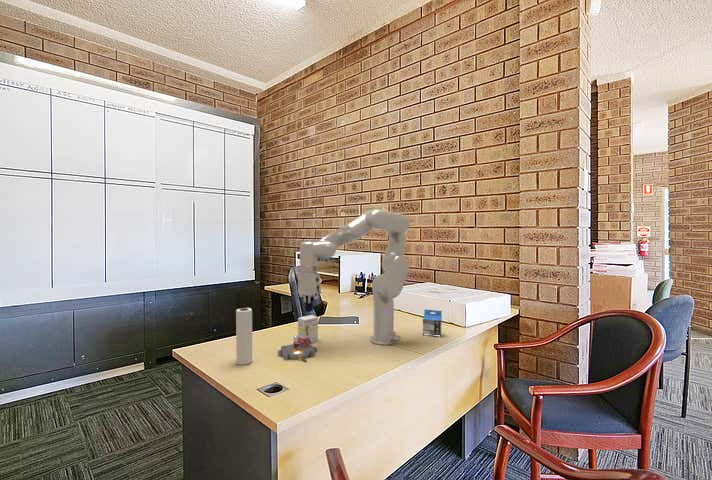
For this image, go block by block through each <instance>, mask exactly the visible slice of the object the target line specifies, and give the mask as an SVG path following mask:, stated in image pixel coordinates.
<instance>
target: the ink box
mask: <svg viewBox="0 0 712 480" xmlns="http://www.w3.org/2000/svg"><path fill="white" fill-rule="evenodd" d="M297 336H298V344H306V343H309V344H310V345H311V344H312V343H316V342H318V341H319V317H318V316H316V315H314V314H311V315H305V316H301V317H298V318H297Z"/></svg>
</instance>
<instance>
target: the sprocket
mask: <svg viewBox="0 0 712 480" xmlns="http://www.w3.org/2000/svg"><path fill="white" fill-rule="evenodd" d="M317 352H318V346H313V345H312V344H311V343H310V344H309V343H306V344H300V343H298V335H293V343H292V344H288V345H281V346H280V349H278V350H277V356H278V357H281V358H283V361H288V360H293V361H294V360H295V361H296V360H298V361H299V362H300V361H302V360H303V359H308V358H314V357H316V353H317Z"/></svg>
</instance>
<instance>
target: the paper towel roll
mask: <svg viewBox="0 0 712 480" xmlns="http://www.w3.org/2000/svg"><path fill="white" fill-rule="evenodd" d="M235 326H236V329H235V330H236V331H235V332H236V333H235V335H236V336H235V337H236V338H235V339H236V340H235V341H236V345H235V346H236V364H237V365H239V366H246V365H249V364H251V363H253V309H252V308H251V307H248V306H247V307H243V308H237V309H236V310H235Z"/></svg>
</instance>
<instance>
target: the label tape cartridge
mask: <svg viewBox="0 0 712 480" xmlns="http://www.w3.org/2000/svg"><path fill="white" fill-rule="evenodd" d="M442 314H443V312H442V310H434V309H424V313H423V317H422V335H423V334H429V335H441V336H442V319H443V317H442V316H443V315H442Z"/></svg>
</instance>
